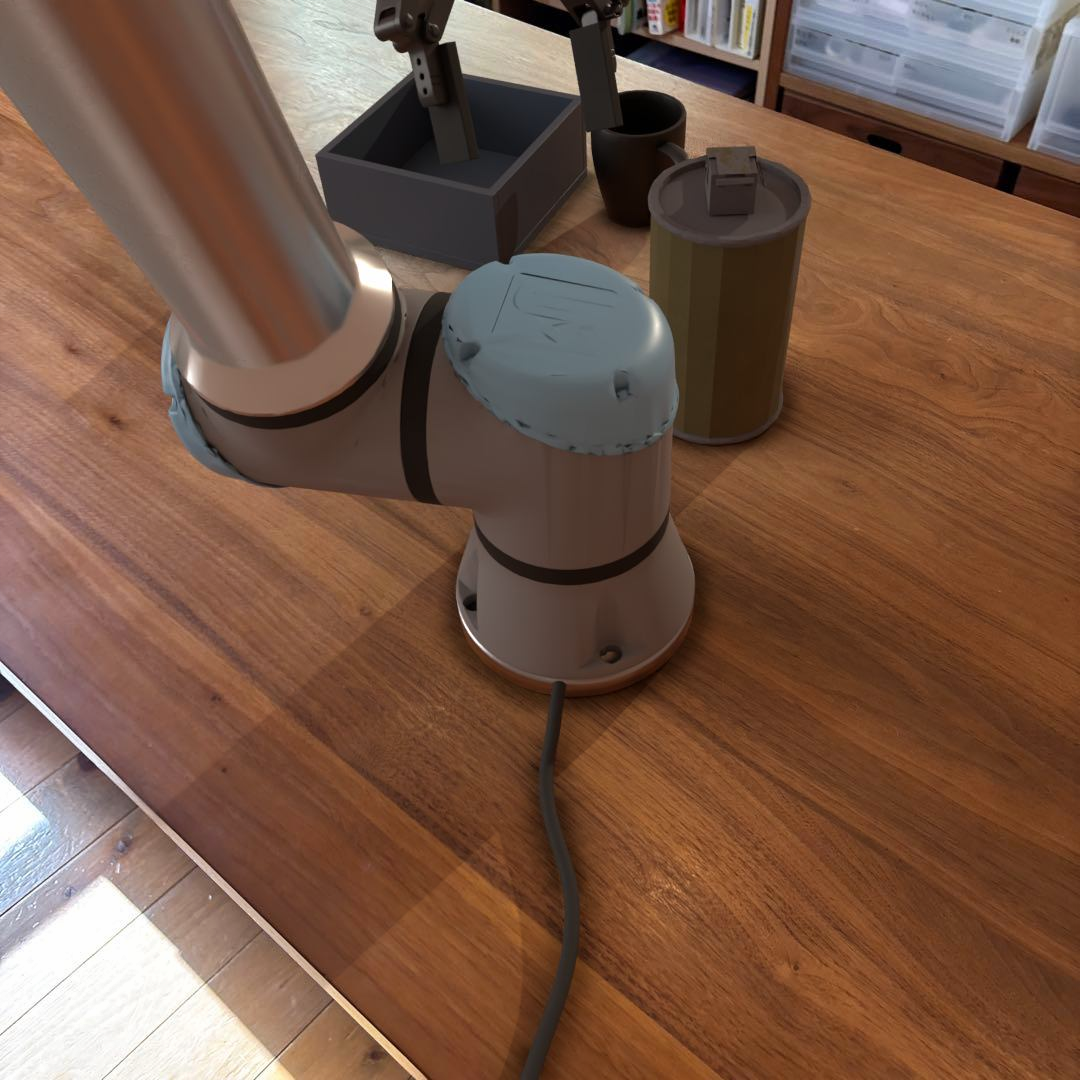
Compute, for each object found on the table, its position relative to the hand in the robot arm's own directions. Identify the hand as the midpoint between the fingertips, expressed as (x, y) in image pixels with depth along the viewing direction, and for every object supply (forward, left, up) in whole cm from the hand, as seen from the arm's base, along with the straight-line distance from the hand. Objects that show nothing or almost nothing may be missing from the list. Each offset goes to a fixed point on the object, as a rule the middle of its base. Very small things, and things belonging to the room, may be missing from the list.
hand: (537, 145), depth 71 cm
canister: (+4, -12, -20) cm, 24 cm away
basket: (+20, +19, -20) cm, 34 cm away
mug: (+24, +2, -20) cm, 31 cm away
